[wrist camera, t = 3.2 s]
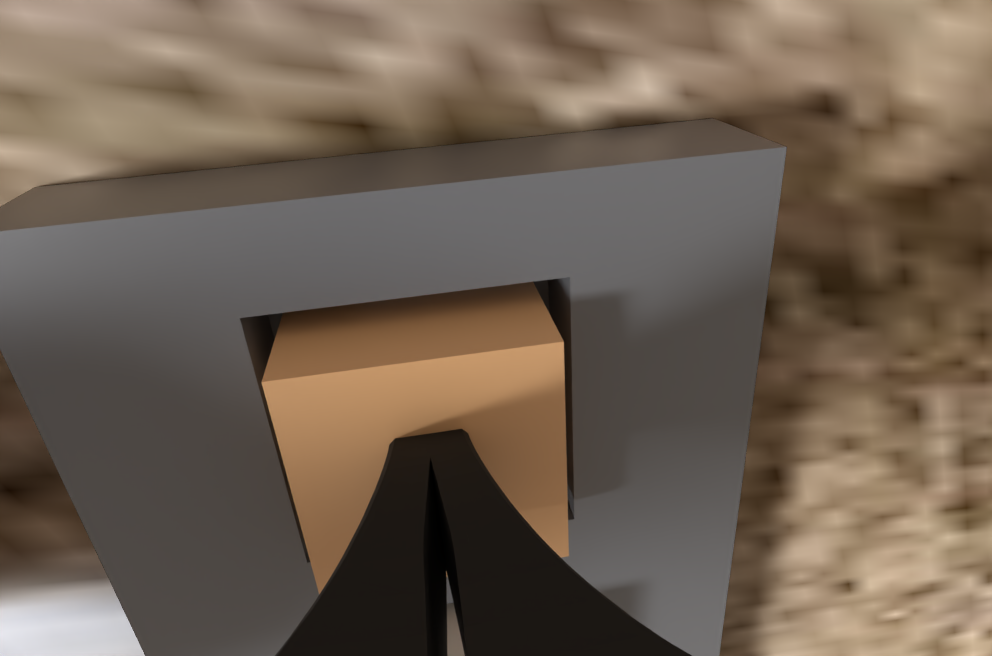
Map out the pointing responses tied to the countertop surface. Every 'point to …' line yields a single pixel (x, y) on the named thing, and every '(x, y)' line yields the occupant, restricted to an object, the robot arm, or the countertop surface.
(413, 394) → the orange key
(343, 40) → the countertop surface
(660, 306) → the keypad
